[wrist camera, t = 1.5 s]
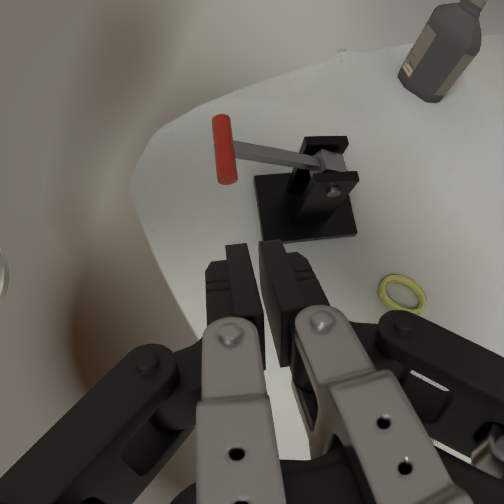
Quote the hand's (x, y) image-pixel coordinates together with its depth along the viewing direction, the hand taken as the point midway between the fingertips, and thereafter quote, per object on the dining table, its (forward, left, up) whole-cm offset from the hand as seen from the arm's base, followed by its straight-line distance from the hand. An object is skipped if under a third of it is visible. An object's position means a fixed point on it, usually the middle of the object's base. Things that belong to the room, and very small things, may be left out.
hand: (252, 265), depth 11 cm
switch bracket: (+5, +15, -27) cm, 31 cm away
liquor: (+22, +48, -27) cm, 59 cm away
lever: (0, +13, -15) cm, 20 cm away
